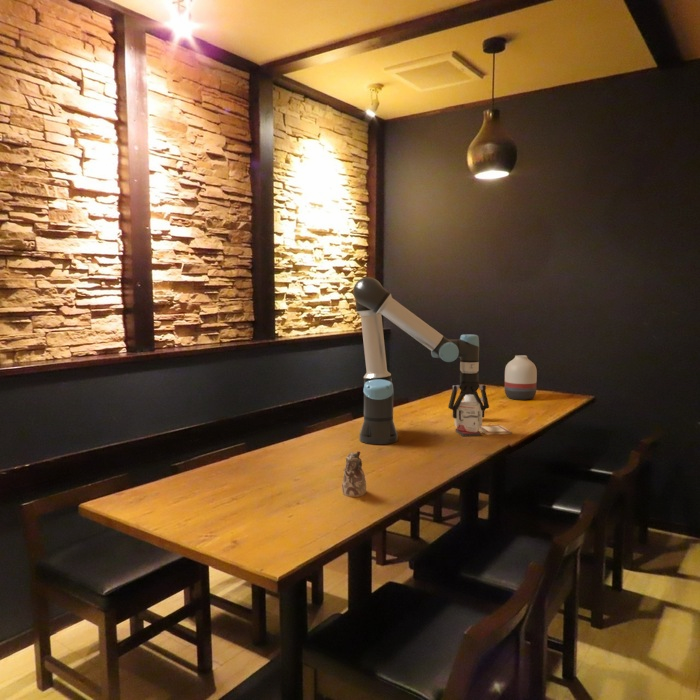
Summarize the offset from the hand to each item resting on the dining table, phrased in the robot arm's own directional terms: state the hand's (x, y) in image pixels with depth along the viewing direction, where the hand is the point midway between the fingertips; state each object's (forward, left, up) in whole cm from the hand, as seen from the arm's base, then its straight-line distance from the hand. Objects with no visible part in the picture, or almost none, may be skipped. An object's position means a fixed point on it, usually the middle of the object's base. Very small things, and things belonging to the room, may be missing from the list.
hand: (468, 425), depth 248 cm
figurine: (-57, -67, -4) cm, 88 cm away
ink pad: (0, 0, -3) cm, 3 cm away
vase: (+55, +76, -4) cm, 94 cm away
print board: (+12, +3, -3) cm, 13 cm away
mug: (+11, +24, -4) cm, 27 cm away
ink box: (0, 0, -2) cm, 2 cm away
